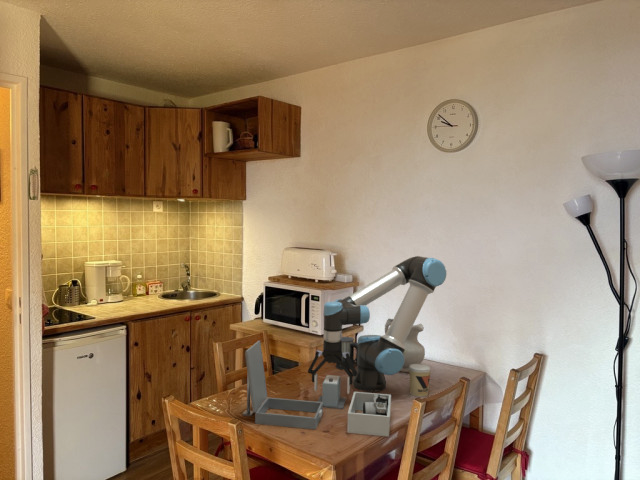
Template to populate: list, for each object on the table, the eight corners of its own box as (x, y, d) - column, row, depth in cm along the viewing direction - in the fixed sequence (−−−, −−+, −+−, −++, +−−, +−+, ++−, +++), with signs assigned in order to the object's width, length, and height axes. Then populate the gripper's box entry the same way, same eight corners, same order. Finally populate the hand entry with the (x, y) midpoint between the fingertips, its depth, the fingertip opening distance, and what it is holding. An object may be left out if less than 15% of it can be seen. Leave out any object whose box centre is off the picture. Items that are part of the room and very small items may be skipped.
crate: (390, 412, 186) (391, 394, 186) (388, 436, 165) (389, 417, 165) (353, 408, 189) (354, 391, 189) (347, 432, 168) (347, 413, 167)
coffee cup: (417, 399, 201) (418, 371, 200) (403, 391, 209) (404, 365, 209) (434, 395, 205) (435, 368, 205) (420, 388, 214) (421, 362, 213)
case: (324, 412, 185) (324, 402, 185) (317, 429, 170) (317, 418, 169) (267, 407, 189) (267, 397, 189) (255, 423, 174) (255, 412, 173)
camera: (361, 412, 186) (362, 387, 185) (384, 413, 186) (385, 387, 185) (364, 430, 170) (365, 402, 170) (389, 430, 170) (390, 403, 170)
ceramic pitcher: (377, 372, 239) (377, 324, 236) (387, 359, 257) (387, 314, 254) (420, 378, 231) (421, 329, 228) (427, 364, 248) (428, 318, 246)
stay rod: (254, 412, 184) (255, 350, 183) (251, 416, 180) (252, 353, 179) (245, 411, 184) (246, 349, 183) (242, 415, 181) (243, 352, 180)
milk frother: (333, 369, 239) (334, 340, 239) (339, 360, 255) (340, 332, 254) (361, 371, 236) (362, 342, 235) (365, 362, 251) (366, 335, 251)
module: (340, 397, 199) (340, 373, 199) (336, 406, 189) (337, 381, 189) (326, 396, 200) (326, 372, 200) (322, 405, 190) (322, 380, 190)
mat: (346, 399, 199) (346, 397, 199) (342, 409, 188) (342, 407, 188) (320, 396, 201) (320, 395, 201) (315, 406, 190) (315, 405, 190)
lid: (260, 340, 188) (256, 340, 189) (247, 351, 173) (243, 351, 173) (267, 396, 189) (264, 396, 189) (255, 412, 173) (251, 412, 174)
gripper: (363, 339, 195) (363, 390, 196) (304, 336, 200) (304, 385, 201) (362, 344, 188) (361, 396, 189) (300, 340, 192) (300, 392, 193)
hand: (332, 391), depth 195 cm, fingers open, 13 cm apart
